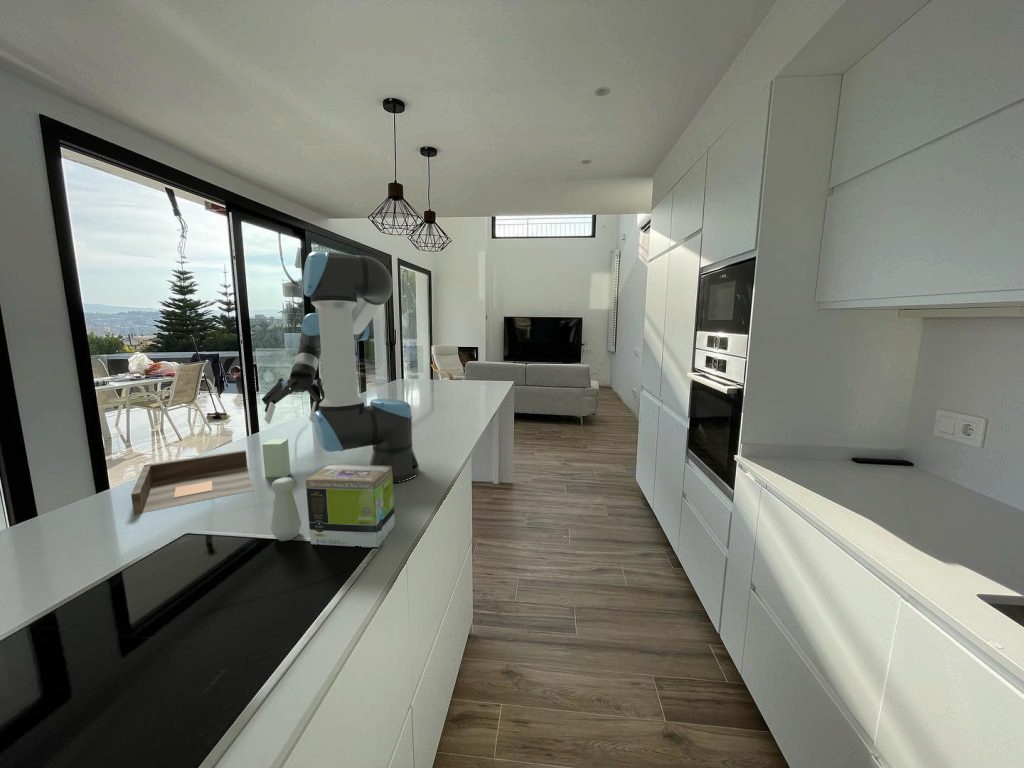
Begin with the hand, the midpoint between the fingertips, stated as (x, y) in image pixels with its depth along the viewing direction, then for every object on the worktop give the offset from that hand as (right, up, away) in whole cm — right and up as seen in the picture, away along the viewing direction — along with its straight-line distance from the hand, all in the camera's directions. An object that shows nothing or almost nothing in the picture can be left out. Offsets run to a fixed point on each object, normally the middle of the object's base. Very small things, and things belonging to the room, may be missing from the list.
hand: (289, 421), depth 131 cm
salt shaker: (+22, -22, -42) cm, 52 cm away
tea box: (+37, -22, -41) cm, 59 cm away
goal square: (-15, -17, -20) cm, 30 cm away
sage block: (+1, -16, -8) cm, 18 cm away
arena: (-15, -17, -18) cm, 29 cm away
